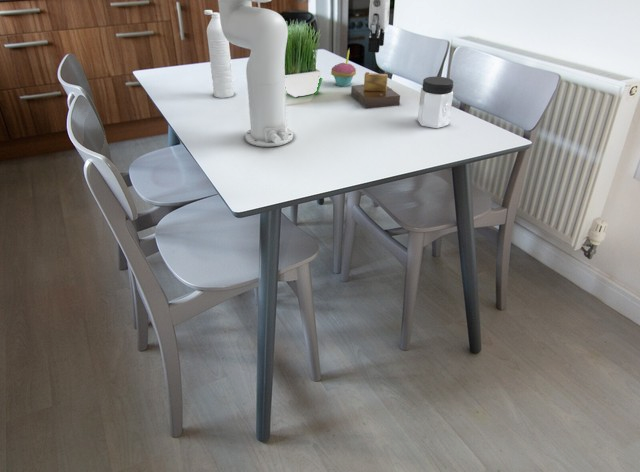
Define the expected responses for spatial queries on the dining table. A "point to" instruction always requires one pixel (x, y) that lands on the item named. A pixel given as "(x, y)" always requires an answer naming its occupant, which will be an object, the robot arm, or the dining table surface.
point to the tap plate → (375, 97)
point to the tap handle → (375, 82)
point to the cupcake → (343, 72)
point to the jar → (435, 102)
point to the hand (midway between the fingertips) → (375, 48)
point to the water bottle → (219, 58)
